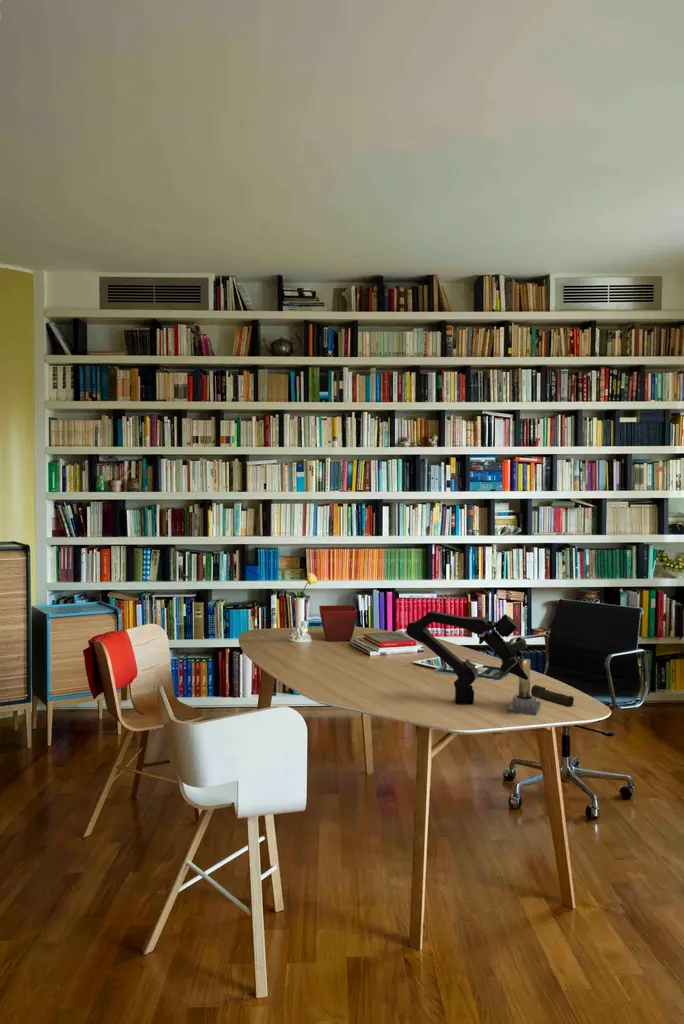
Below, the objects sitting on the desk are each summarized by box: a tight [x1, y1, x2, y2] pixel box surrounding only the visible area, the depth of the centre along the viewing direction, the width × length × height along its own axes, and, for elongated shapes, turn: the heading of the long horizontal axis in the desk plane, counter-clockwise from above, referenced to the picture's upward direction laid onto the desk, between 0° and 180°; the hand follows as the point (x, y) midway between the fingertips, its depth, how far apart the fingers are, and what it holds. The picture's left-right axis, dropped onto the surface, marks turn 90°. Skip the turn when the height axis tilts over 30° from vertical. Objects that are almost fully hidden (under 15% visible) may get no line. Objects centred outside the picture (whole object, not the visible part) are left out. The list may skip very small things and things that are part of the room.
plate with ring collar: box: [506, 694, 541, 716], centre depth 282 cm, size 10×14×4 cm
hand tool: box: [530, 684, 575, 708], centre depth 294 cm, size 19×4×5 cm, turn 33°
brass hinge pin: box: [517, 658, 531, 697], centre depth 282 cm, size 4×4×13 cm
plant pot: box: [318, 604, 358, 642], centre depth 412 cm, size 19×19×17 cm
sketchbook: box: [433, 664, 510, 681], centre depth 340 cm, size 22×30×2 cm
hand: (528, 677), depth 282 cm, fingers closed on brass hinge pin, 4 cm apart
